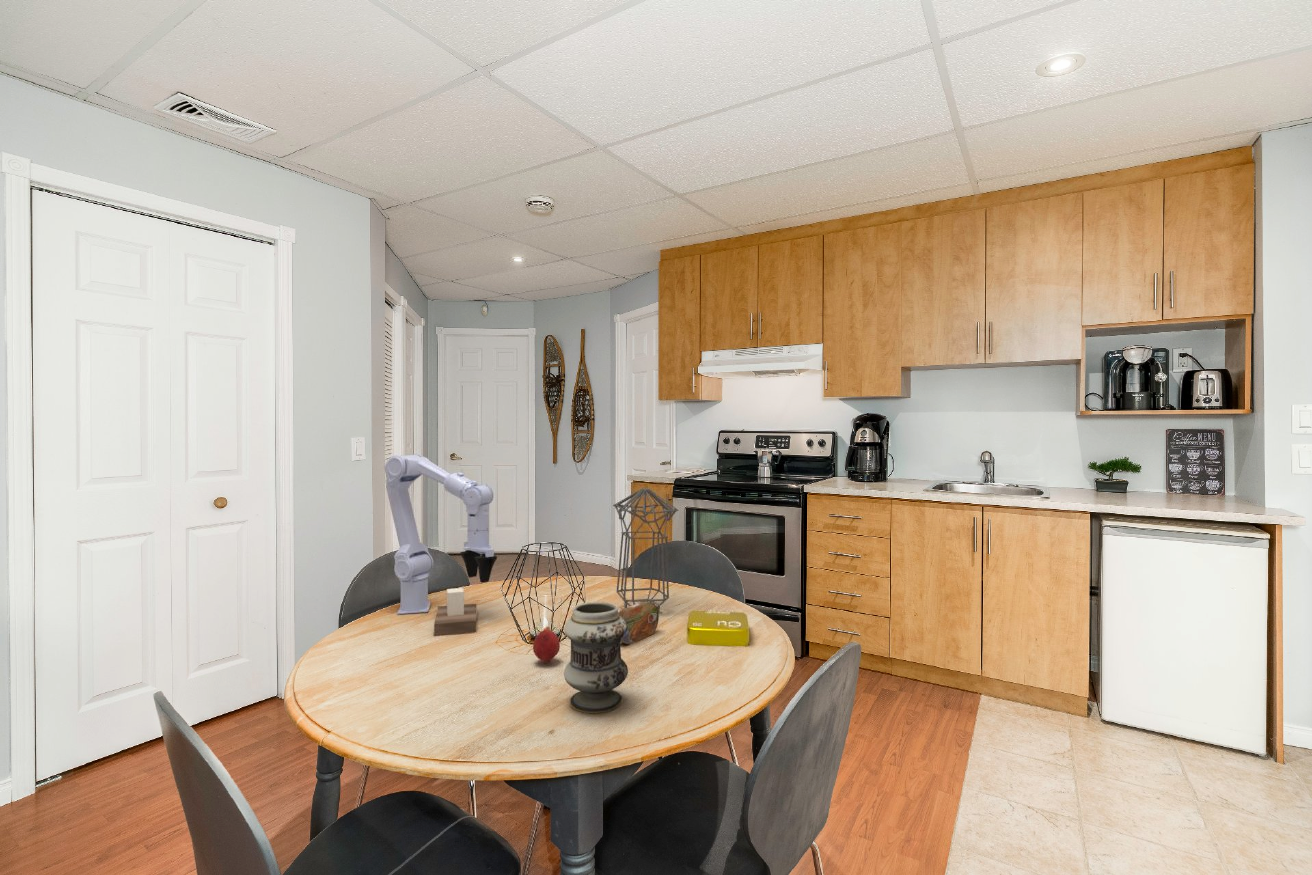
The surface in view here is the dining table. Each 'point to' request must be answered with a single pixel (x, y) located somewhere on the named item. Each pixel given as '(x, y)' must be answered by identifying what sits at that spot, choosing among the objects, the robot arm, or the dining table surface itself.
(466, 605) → the plinth
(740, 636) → the element tile
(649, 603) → the tin
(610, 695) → the apothecary jar
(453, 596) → the block
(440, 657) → the dining table surface
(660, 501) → the geometric lantern
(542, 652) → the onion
